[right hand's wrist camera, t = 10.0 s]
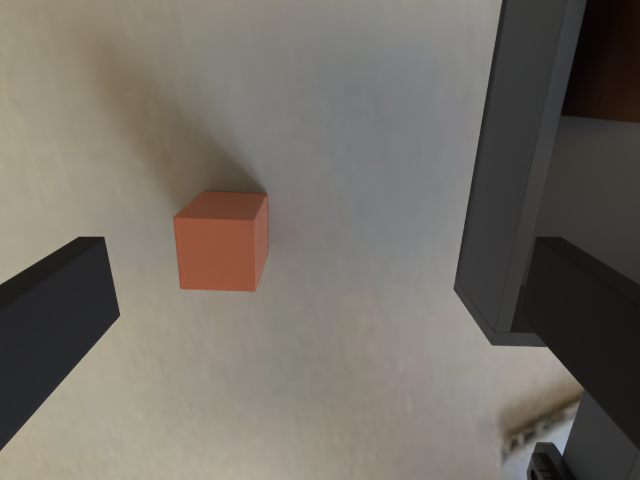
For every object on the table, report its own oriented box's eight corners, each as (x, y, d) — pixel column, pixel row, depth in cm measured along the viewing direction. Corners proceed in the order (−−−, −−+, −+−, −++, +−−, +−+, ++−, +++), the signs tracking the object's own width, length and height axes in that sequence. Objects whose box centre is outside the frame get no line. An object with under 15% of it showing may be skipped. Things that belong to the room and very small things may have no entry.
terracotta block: (202, 191, 28) (172, 217, 22) (267, 193, 28) (254, 219, 22) (206, 251, 29) (180, 289, 24) (268, 252, 29) (256, 291, 24)
